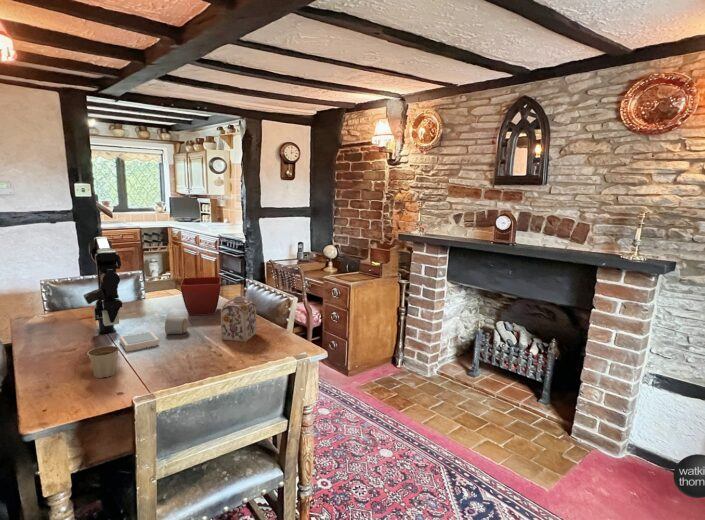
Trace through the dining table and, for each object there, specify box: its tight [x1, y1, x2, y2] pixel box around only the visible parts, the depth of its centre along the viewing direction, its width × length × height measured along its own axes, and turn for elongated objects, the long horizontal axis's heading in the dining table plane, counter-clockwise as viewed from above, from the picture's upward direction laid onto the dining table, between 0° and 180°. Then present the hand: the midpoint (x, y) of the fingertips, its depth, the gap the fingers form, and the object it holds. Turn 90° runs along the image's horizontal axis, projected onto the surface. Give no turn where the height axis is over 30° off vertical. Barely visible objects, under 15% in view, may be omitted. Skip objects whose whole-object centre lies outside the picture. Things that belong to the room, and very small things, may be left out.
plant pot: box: [179, 276, 222, 316], centre depth 216 cm, size 19×19×17 cm
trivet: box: [119, 330, 160, 352], centre depth 171 cm, size 12×12×3 cm
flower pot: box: [86, 345, 120, 379], centre depth 142 cm, size 9×9×9 cm
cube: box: [102, 310, 120, 326], centre depth 165 cm, size 5×5×5 cm
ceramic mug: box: [164, 316, 188, 335], centre depth 186 cm, size 11×8×8 cm
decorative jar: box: [220, 295, 258, 343], centre depth 181 cm, size 12×12×18 cm
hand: (111, 320), depth 165 cm, fingers closed on cube, 5 cm apart
